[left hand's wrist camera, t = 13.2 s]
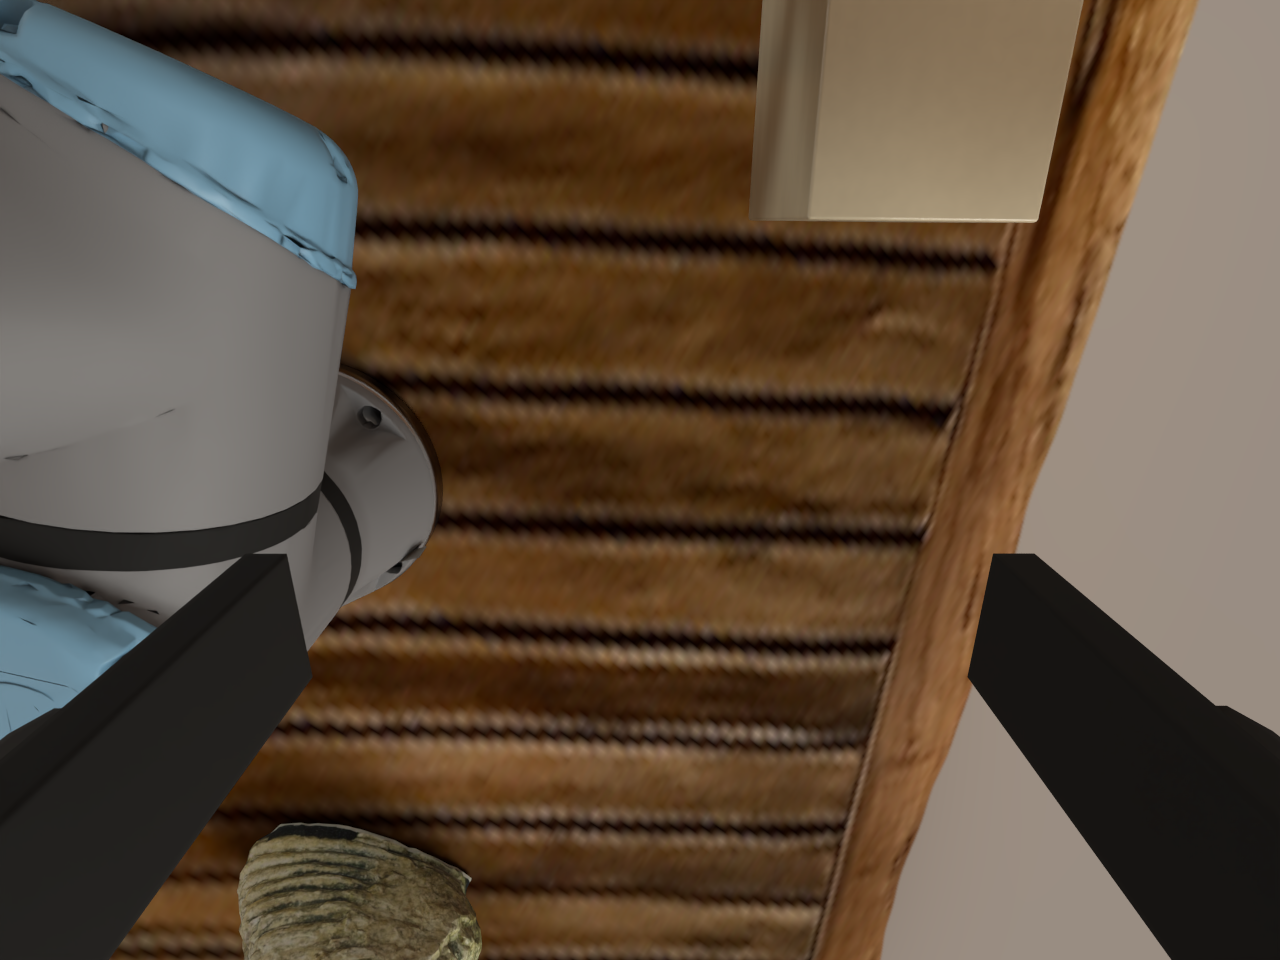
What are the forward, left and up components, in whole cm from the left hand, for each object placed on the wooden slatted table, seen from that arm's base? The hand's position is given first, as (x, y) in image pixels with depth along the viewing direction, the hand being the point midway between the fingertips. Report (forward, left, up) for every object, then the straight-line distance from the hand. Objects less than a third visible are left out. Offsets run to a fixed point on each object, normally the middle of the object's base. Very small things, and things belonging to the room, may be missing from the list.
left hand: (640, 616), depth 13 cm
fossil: (-21, -41, -29) cm, 55 cm away
